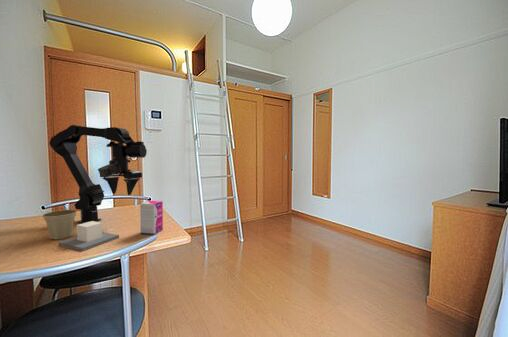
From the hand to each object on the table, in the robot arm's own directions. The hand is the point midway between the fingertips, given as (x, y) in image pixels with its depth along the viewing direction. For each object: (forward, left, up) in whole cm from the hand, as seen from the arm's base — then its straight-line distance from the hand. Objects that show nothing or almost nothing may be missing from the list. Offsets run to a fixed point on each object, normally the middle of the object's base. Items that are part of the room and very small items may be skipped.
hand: (121, 194), depth 100 cm
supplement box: (+22, -5, -12) cm, 26 cm away
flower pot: (-4, -21, -12) cm, 25 cm away
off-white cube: (+10, -20, -11) cm, 25 cm away
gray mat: (+10, -20, -12) cm, 25 cm away
